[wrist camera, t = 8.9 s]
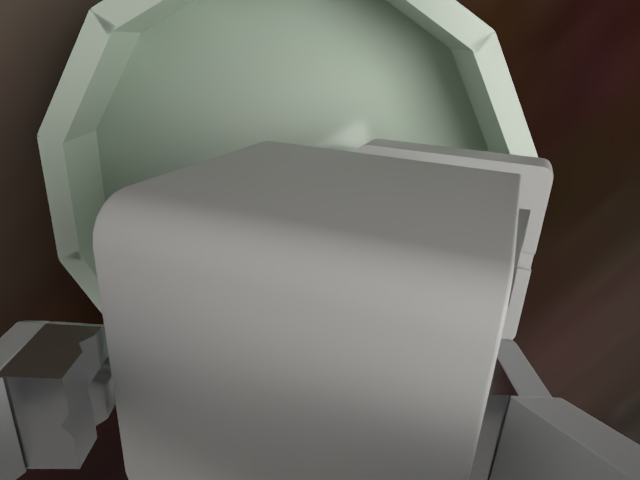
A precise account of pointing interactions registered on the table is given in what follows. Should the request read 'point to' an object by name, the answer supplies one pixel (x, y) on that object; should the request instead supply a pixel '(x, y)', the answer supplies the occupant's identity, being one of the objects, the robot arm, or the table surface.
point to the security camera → (315, 308)
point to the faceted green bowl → (261, 92)
